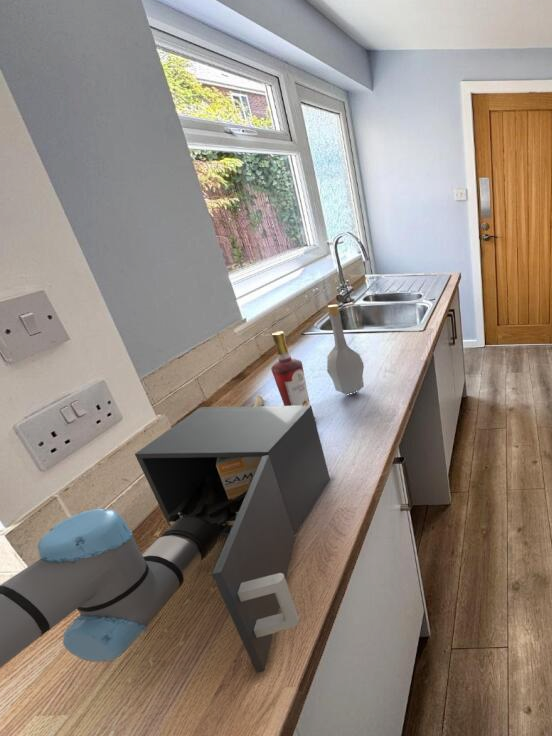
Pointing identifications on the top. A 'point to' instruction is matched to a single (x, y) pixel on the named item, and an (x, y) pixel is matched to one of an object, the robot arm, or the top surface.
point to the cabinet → (239, 454)
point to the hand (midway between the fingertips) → (261, 462)
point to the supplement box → (237, 473)
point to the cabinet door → (258, 566)
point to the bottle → (343, 359)
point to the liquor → (289, 375)
